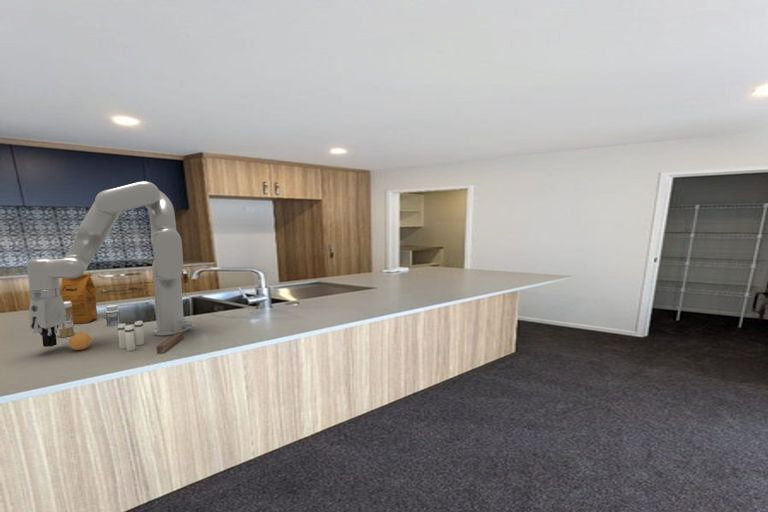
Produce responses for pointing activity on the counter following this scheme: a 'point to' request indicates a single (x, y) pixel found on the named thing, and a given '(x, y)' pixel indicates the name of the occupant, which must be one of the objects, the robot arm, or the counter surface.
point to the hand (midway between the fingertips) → (50, 345)
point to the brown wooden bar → (169, 342)
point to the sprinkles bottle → (67, 322)
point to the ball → (80, 341)
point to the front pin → (122, 335)
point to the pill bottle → (112, 315)
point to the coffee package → (80, 297)
